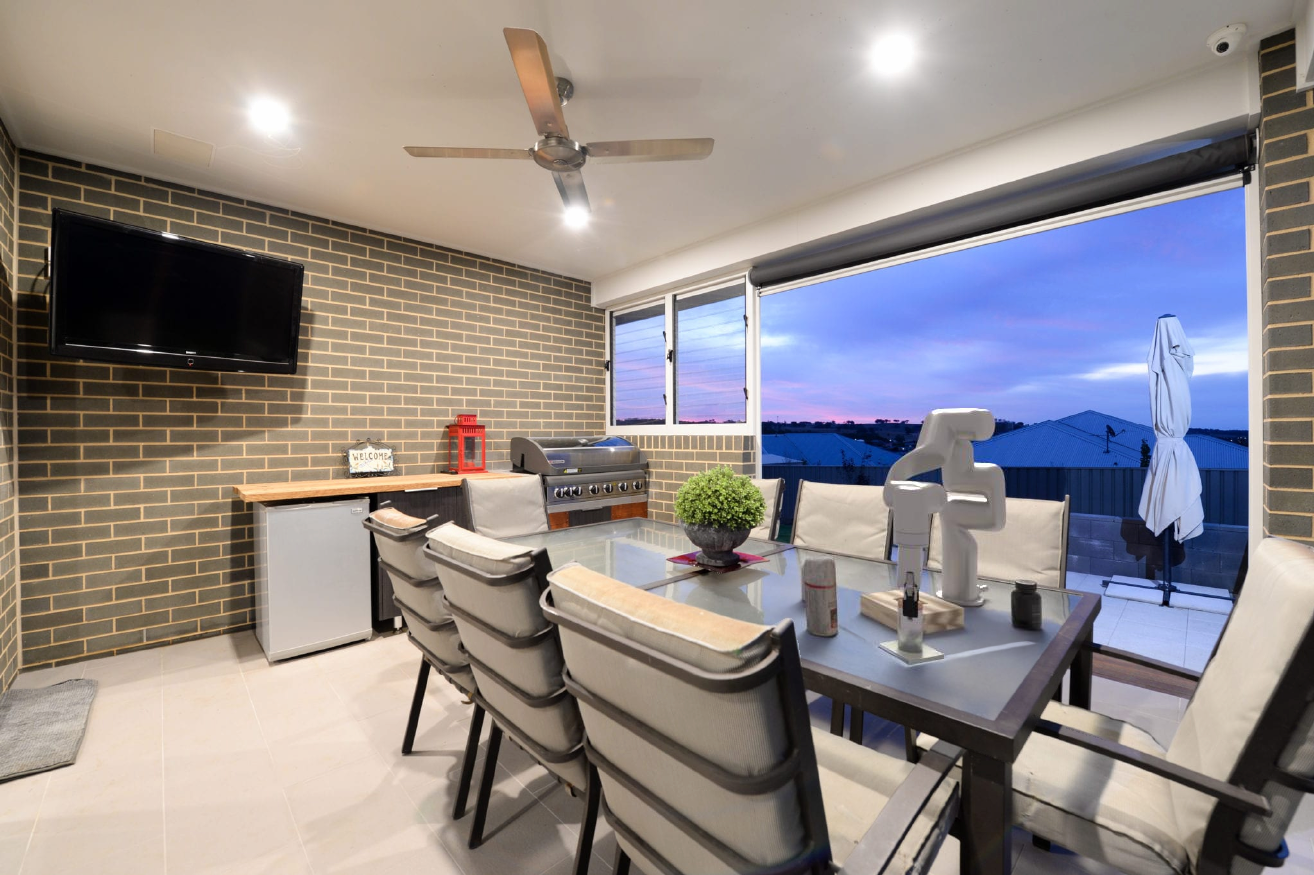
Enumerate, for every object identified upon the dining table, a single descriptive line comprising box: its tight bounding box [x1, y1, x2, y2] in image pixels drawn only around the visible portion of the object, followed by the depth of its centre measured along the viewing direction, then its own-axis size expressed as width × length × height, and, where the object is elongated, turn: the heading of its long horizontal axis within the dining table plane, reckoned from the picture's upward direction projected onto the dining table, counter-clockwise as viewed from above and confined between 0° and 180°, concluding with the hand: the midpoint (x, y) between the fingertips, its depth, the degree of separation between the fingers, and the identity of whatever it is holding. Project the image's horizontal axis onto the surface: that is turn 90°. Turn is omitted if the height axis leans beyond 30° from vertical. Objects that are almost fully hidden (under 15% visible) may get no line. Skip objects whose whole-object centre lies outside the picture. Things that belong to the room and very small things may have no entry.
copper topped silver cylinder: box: [897, 599, 924, 653], centre depth 126 cm, size 5×5×11 cm
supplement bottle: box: [1010, 579, 1043, 632], centre depth 142 cm, size 7×7×12 cm
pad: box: [877, 639, 945, 666], centre depth 126 cm, size 10×10×1 cm
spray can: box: [804, 554, 839, 637], centre depth 140 cm, size 8×8×20 cm
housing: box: [859, 588, 965, 635], centre depth 145 cm, size 18×18×6 cm
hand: (911, 609), depth 126 cm, fingers open, 9 cm apart
